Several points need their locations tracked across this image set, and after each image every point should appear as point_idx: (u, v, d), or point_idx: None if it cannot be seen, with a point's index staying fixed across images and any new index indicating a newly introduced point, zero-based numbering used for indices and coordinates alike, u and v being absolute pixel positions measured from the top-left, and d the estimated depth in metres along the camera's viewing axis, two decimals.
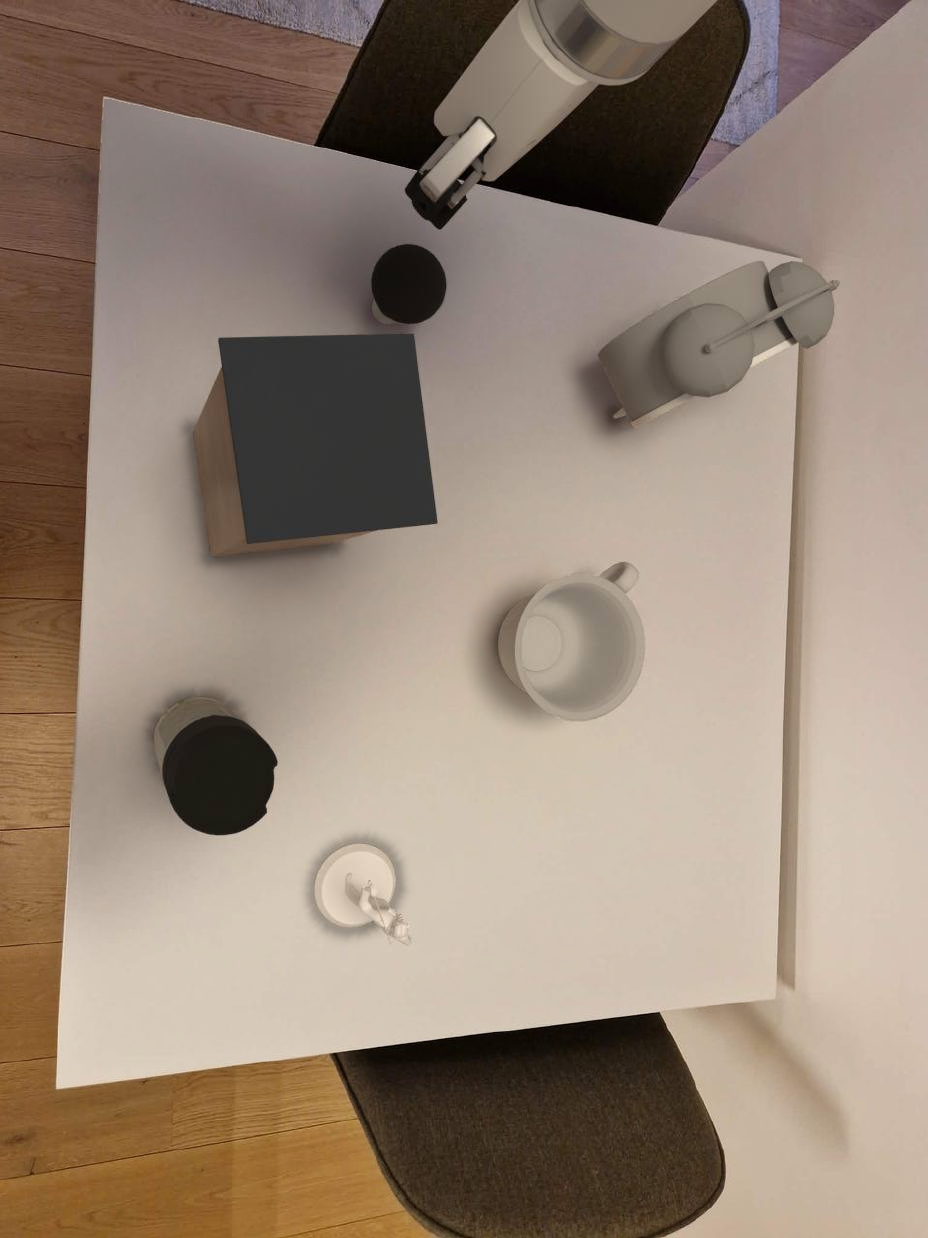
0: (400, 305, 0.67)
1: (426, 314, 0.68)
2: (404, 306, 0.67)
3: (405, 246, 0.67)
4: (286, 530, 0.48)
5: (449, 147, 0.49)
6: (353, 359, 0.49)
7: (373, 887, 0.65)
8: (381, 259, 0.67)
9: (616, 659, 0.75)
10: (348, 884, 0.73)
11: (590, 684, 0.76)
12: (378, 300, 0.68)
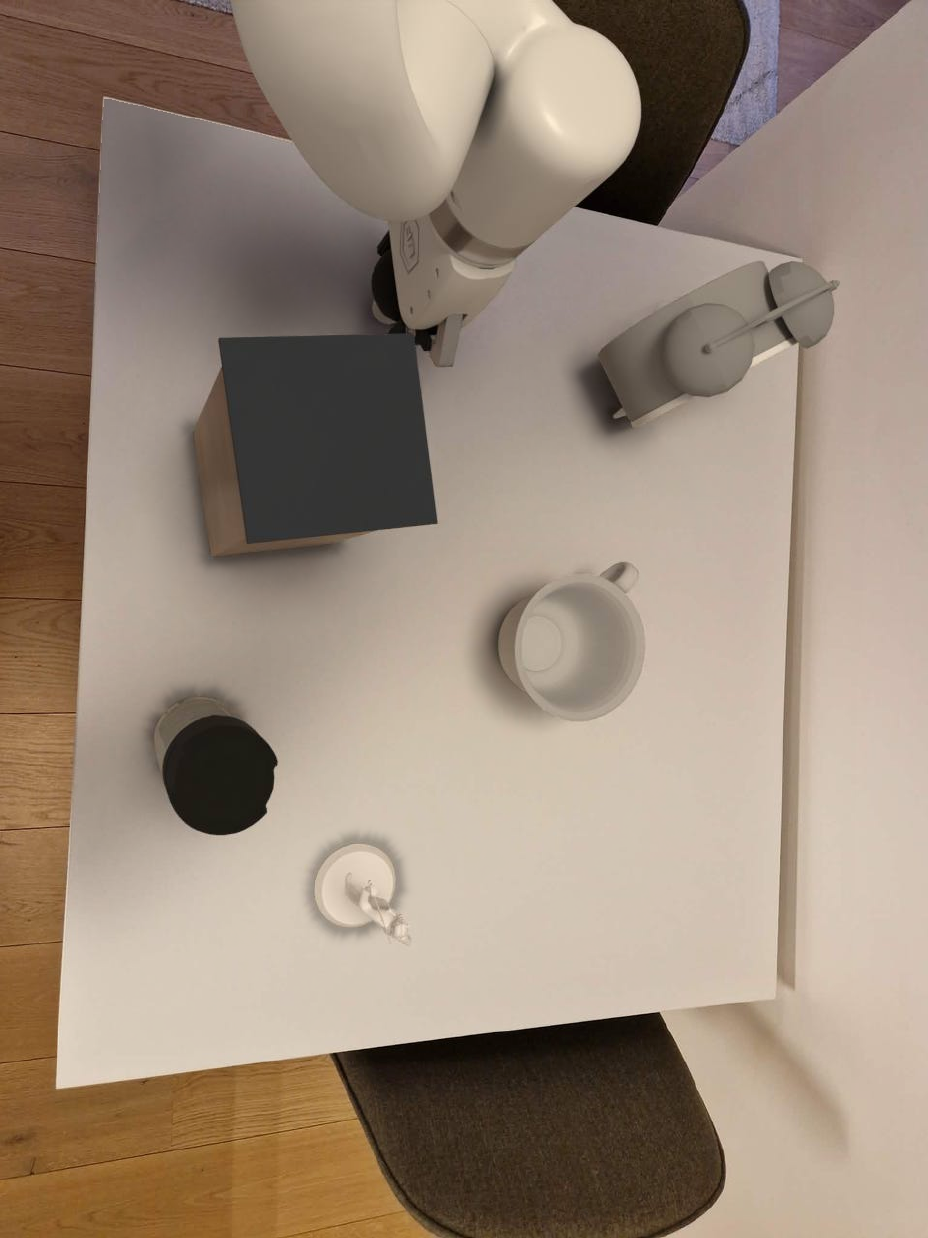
0: None
1: None
2: None
3: None
4: (286, 530, 0.48)
5: None
6: (353, 359, 0.49)
7: (373, 887, 0.65)
8: (381, 259, 0.67)
9: (616, 659, 0.75)
10: (348, 884, 0.73)
11: (590, 684, 0.76)
12: (378, 301, 0.68)
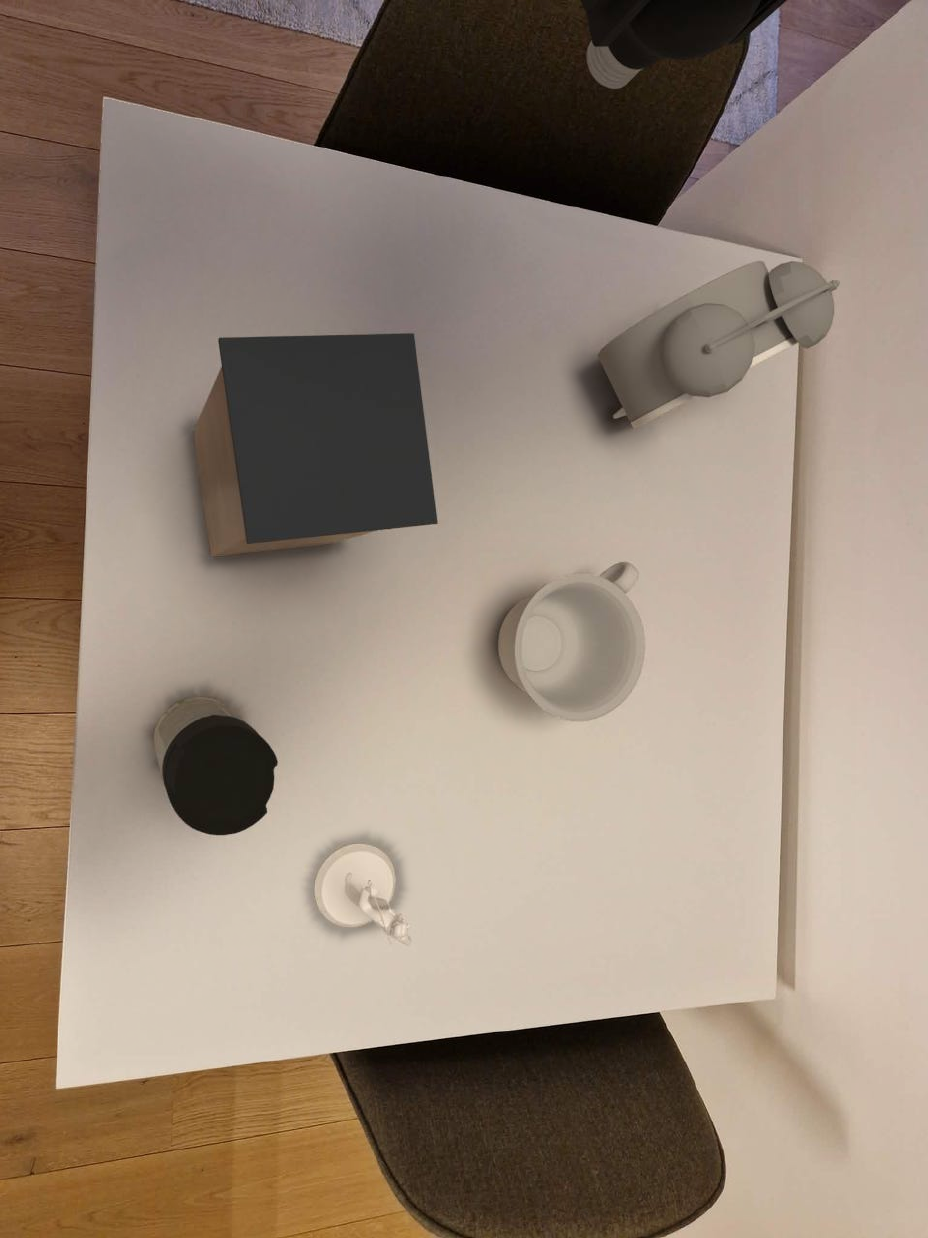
0: None
1: None
2: None
3: None
4: (286, 530, 0.48)
5: None
6: (353, 359, 0.49)
7: (373, 887, 0.65)
8: (684, 18, 0.34)
9: (616, 659, 0.75)
10: (348, 884, 0.73)
11: (590, 684, 0.76)
12: (729, 41, 0.36)
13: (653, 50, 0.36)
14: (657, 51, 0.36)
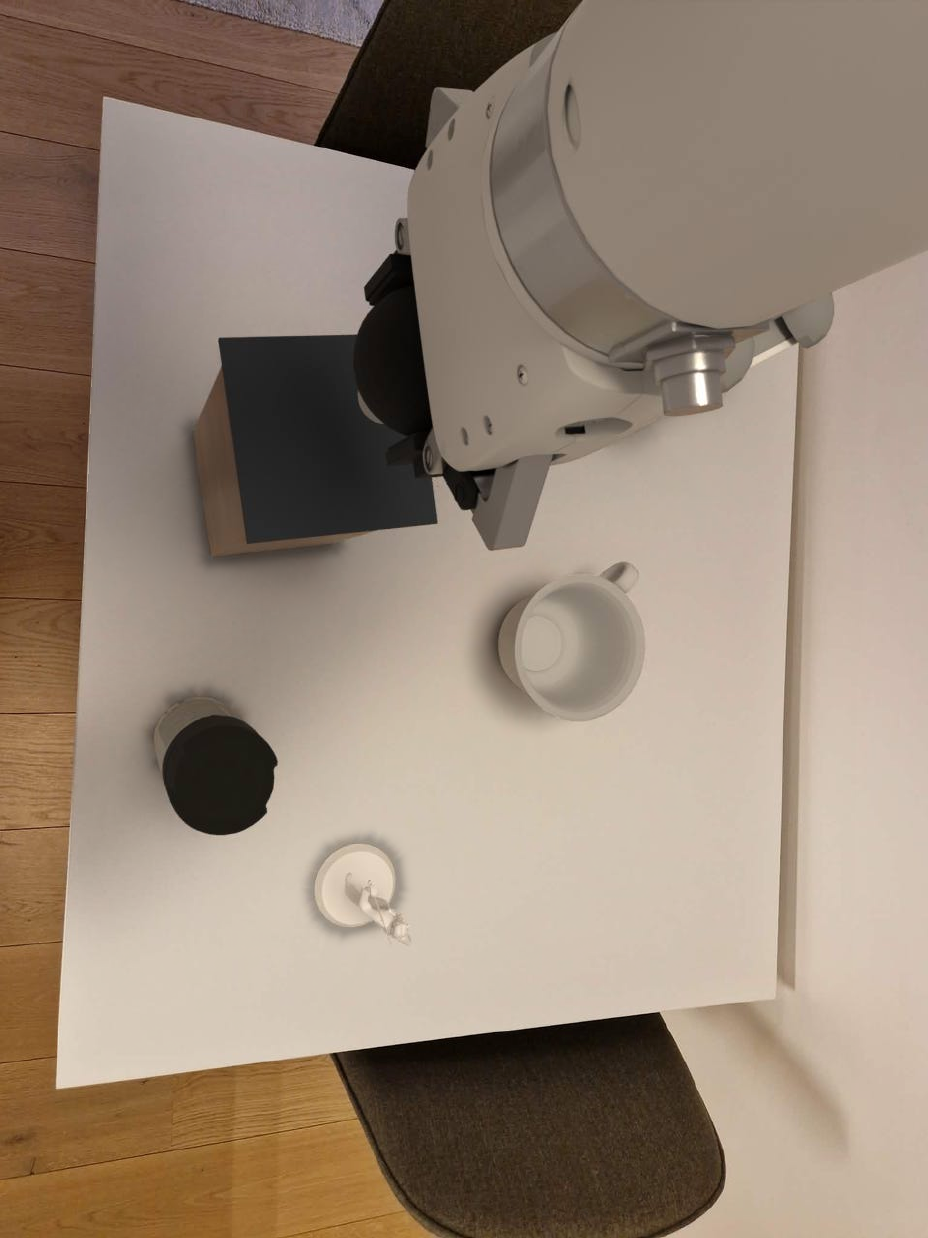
0: None
1: (409, 287, 0.33)
2: None
3: None
4: (286, 530, 0.48)
5: None
6: None
7: (373, 887, 0.65)
8: None
9: (616, 659, 0.75)
10: (348, 884, 0.73)
11: (590, 684, 0.76)
12: None
13: None
14: None
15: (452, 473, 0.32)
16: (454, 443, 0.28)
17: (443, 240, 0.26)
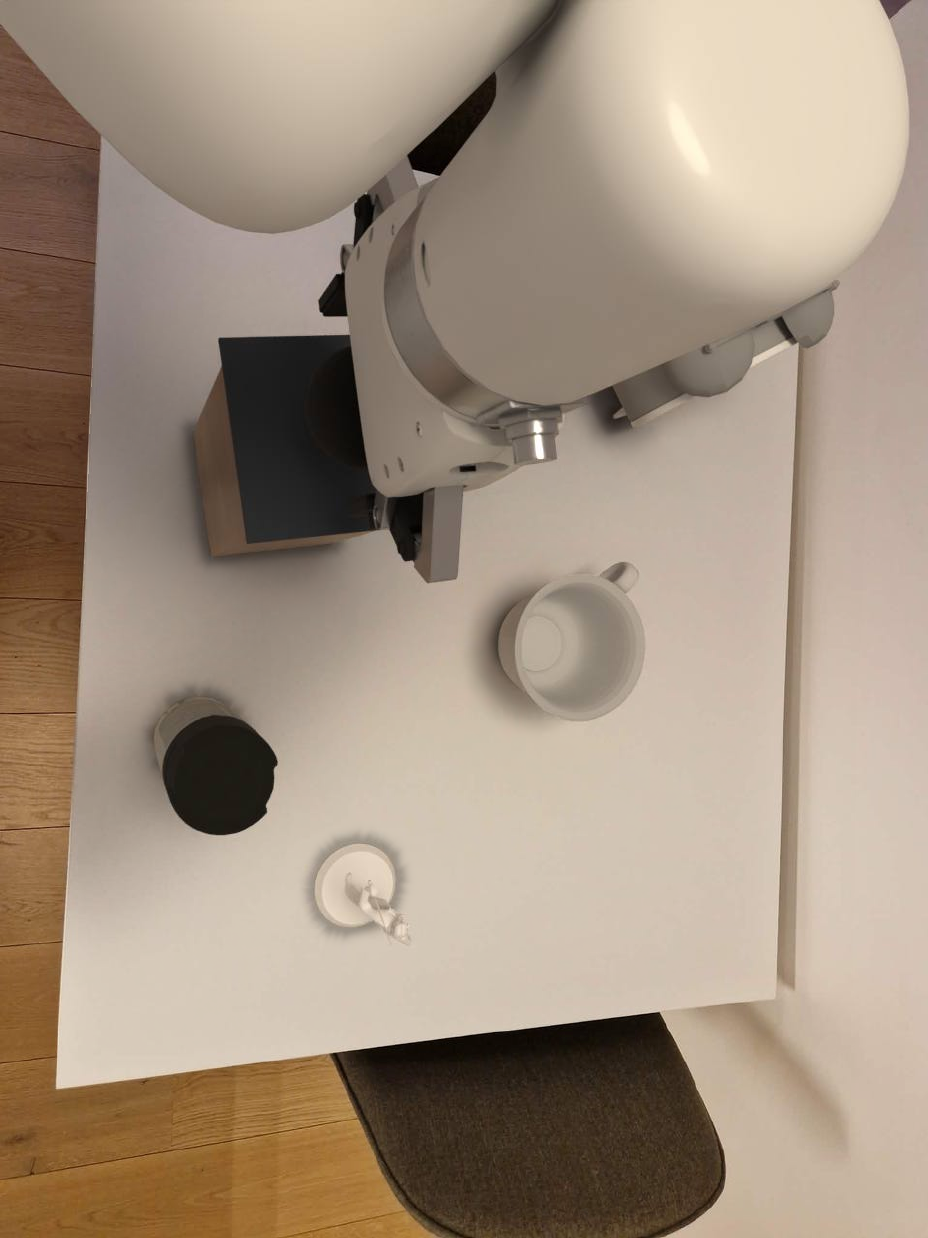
0: None
1: (349, 348, 0.41)
2: None
3: None
4: (286, 530, 0.48)
5: None
6: None
7: (373, 887, 0.65)
8: None
9: (616, 659, 0.75)
10: (348, 884, 0.73)
11: (590, 684, 0.76)
12: None
13: None
14: None
15: (396, 529, 0.38)
16: (380, 475, 0.35)
17: (366, 318, 0.33)
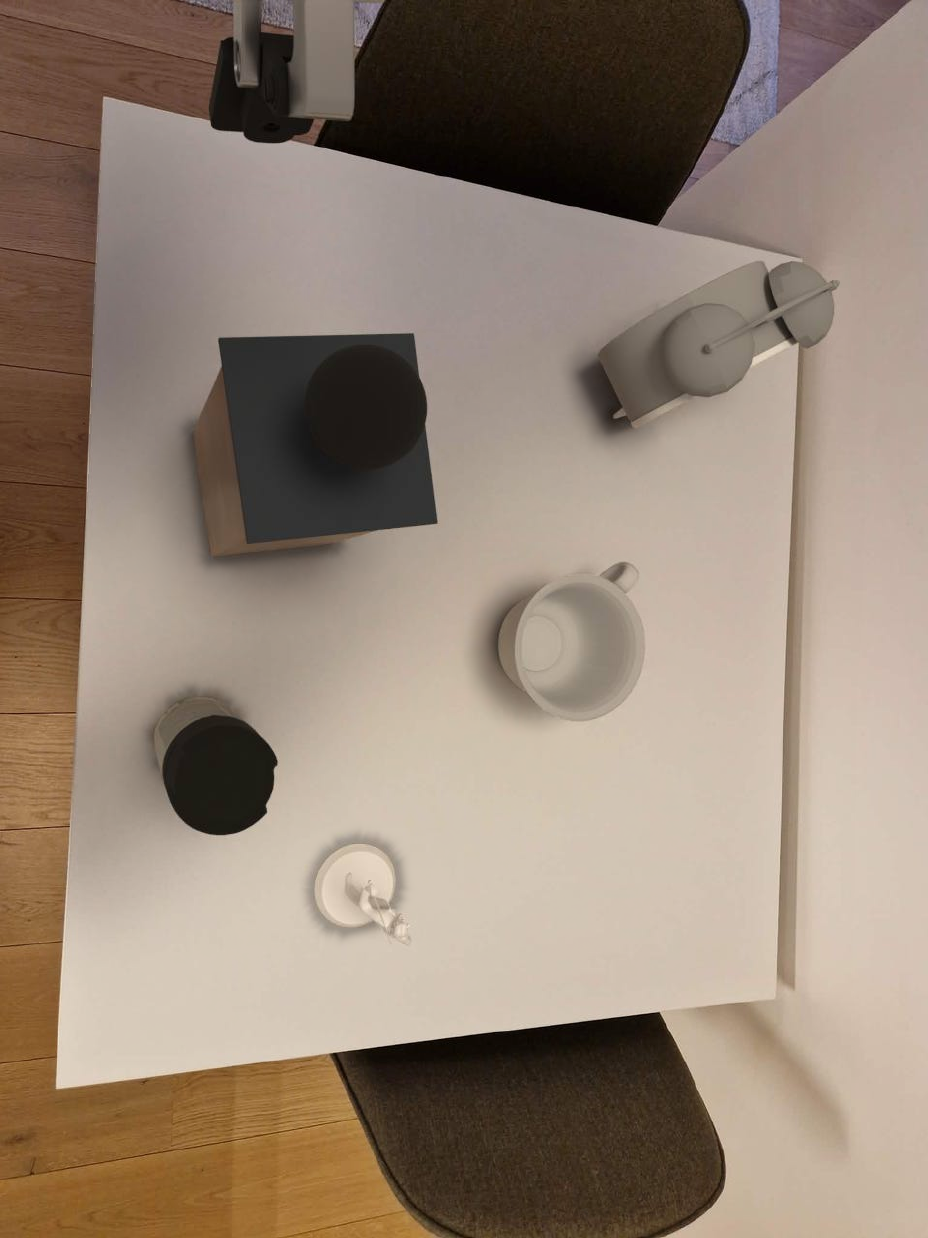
0: (398, 355, 0.42)
1: (349, 348, 0.41)
2: (393, 352, 0.41)
3: (393, 447, 0.41)
4: (286, 530, 0.48)
5: None
6: None
7: (373, 887, 0.65)
8: (420, 434, 0.43)
9: (616, 659, 0.75)
10: (348, 884, 0.73)
11: (590, 684, 0.76)
12: None
13: None
14: None
15: (265, 72, 0.24)
16: None
17: None
